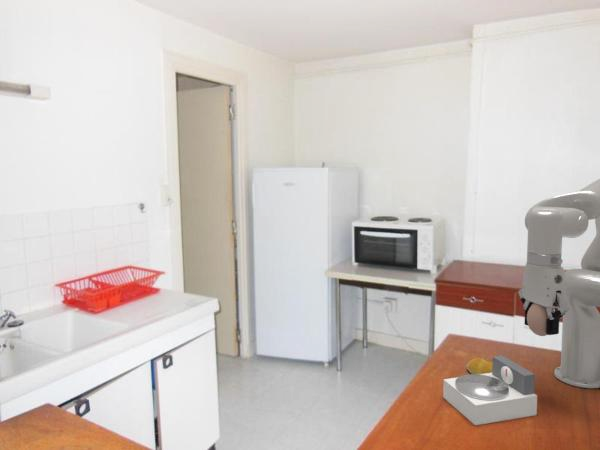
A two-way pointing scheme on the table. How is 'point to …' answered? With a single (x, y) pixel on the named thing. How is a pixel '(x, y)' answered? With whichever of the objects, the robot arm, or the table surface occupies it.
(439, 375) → the table surface
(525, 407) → the kitchen scale
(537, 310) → the egg
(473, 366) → the bread roll
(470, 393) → the scale pan
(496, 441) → the table surface
